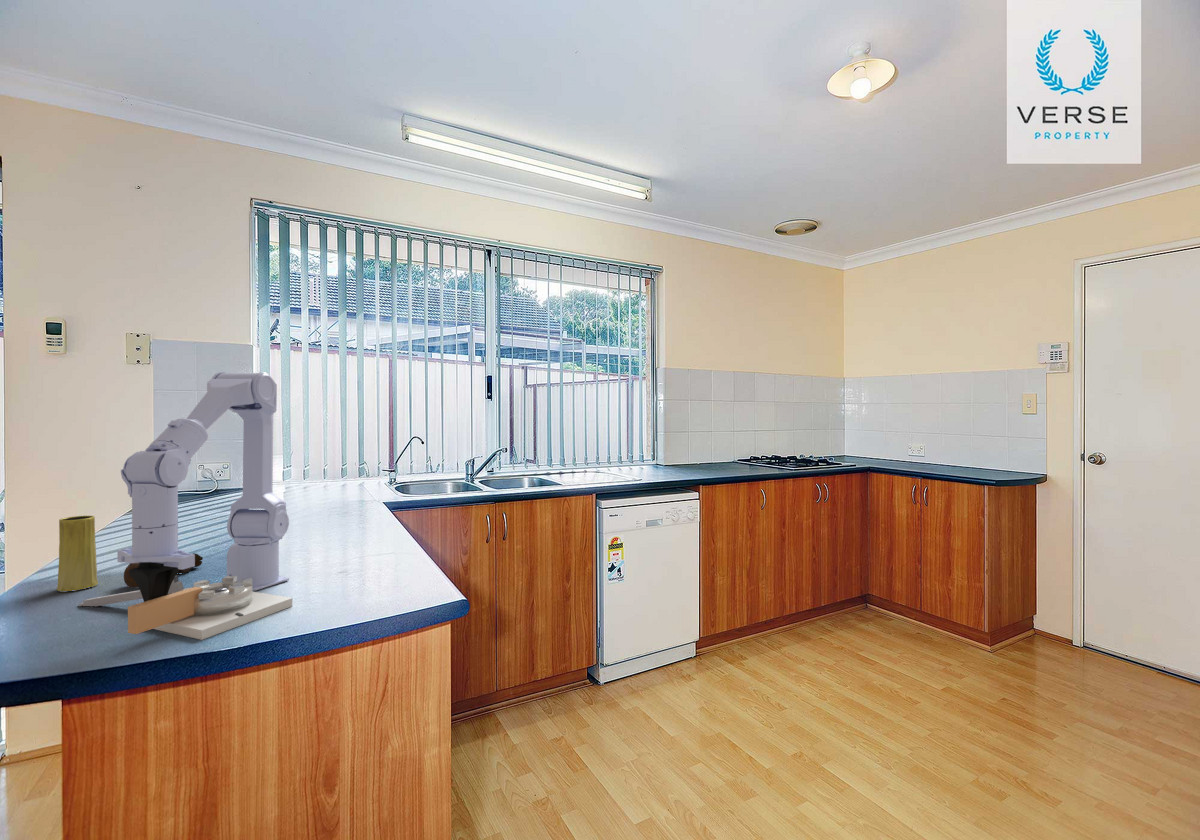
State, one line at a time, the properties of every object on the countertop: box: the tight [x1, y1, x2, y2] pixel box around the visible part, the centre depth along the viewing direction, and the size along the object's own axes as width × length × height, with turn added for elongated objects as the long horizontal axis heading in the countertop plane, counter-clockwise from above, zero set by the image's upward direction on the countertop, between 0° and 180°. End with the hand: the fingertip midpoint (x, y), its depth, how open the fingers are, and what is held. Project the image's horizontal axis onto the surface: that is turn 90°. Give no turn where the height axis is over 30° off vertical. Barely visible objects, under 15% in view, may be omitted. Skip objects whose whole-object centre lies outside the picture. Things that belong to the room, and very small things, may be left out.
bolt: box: [123, 552, 204, 588], centre depth 118 cm, size 6×5×15 cm
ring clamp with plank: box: [127, 575, 252, 635], centre depth 91 cm, size 18×10×4 cm, turn 162°
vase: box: [56, 515, 99, 592], centre depth 110 cm, size 6×6×14 cm
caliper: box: [77, 575, 185, 607], centre depth 99 cm, size 20×1×6 cm, turn 85°
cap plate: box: [152, 591, 293, 641], centre depth 95 cm, size 16×16×2 cm
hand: (155, 609), depth 87 cm, fingers closed
